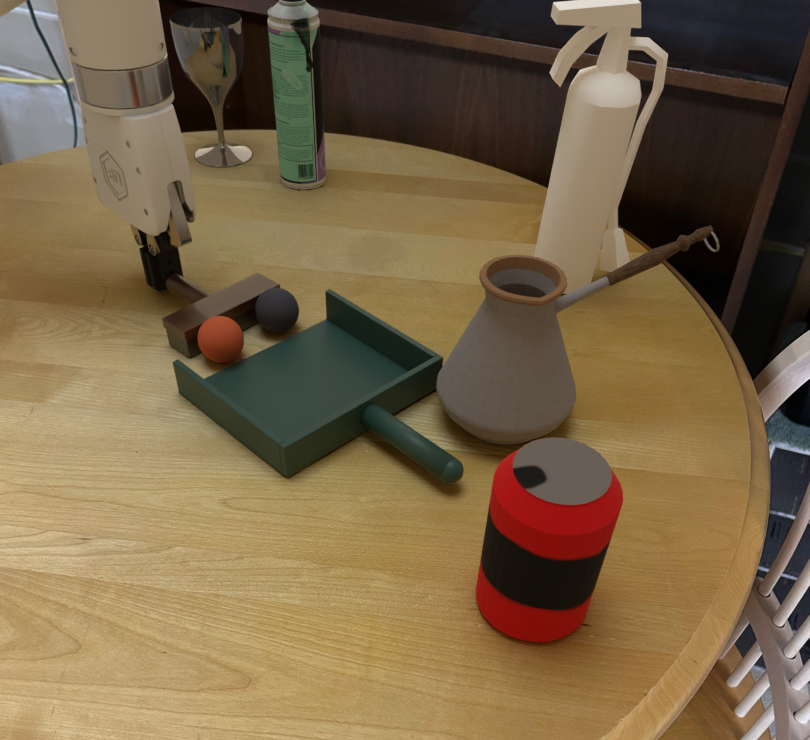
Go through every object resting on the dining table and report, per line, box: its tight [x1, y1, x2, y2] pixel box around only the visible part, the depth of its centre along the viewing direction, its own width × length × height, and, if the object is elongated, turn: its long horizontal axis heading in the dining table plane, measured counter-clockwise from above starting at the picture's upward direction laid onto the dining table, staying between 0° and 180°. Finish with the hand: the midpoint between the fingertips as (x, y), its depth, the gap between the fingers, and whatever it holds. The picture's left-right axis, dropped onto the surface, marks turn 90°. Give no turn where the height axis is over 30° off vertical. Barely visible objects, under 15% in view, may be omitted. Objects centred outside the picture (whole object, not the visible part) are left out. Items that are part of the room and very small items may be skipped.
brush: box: [161, 272, 281, 359], centre depth 76 cm, size 9×11×3 cm
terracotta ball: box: [197, 316, 245, 364], centre depth 71 cm, size 4×4×4 cm
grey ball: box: [255, 287, 300, 334], centre depth 74 cm, size 4×4×4 cm
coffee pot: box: [435, 225, 720, 446], centre depth 63 cm, size 21×12×15 cm, turn 107°
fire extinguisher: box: [533, 0, 669, 295], centre depth 74 cm, size 7×12×25 cm, turn 95°
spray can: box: [267, 0, 327, 191], centre depth 90 cm, size 6×6×20 cm
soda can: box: [475, 437, 624, 643], centre depth 50 cm, size 8×8×12 cm
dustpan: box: [172, 288, 465, 485], centre depth 66 cm, size 25×17×3 cm
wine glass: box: [169, 6, 253, 168], centre depth 96 cm, size 8×8×15 cm
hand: (165, 283), depth 79 cm, fingers closed
